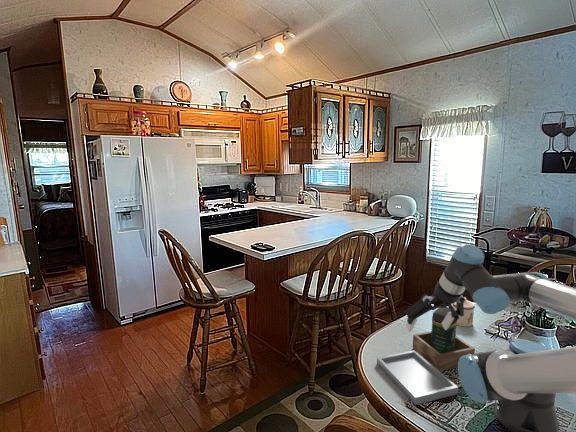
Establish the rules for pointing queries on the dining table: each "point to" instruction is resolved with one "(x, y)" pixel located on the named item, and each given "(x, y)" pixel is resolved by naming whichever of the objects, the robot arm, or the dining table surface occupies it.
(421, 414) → the dining table surface
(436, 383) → the grey flat rectangular tray
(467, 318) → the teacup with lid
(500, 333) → the dining table surface
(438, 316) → the coffee jar
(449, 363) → the walnut tub
